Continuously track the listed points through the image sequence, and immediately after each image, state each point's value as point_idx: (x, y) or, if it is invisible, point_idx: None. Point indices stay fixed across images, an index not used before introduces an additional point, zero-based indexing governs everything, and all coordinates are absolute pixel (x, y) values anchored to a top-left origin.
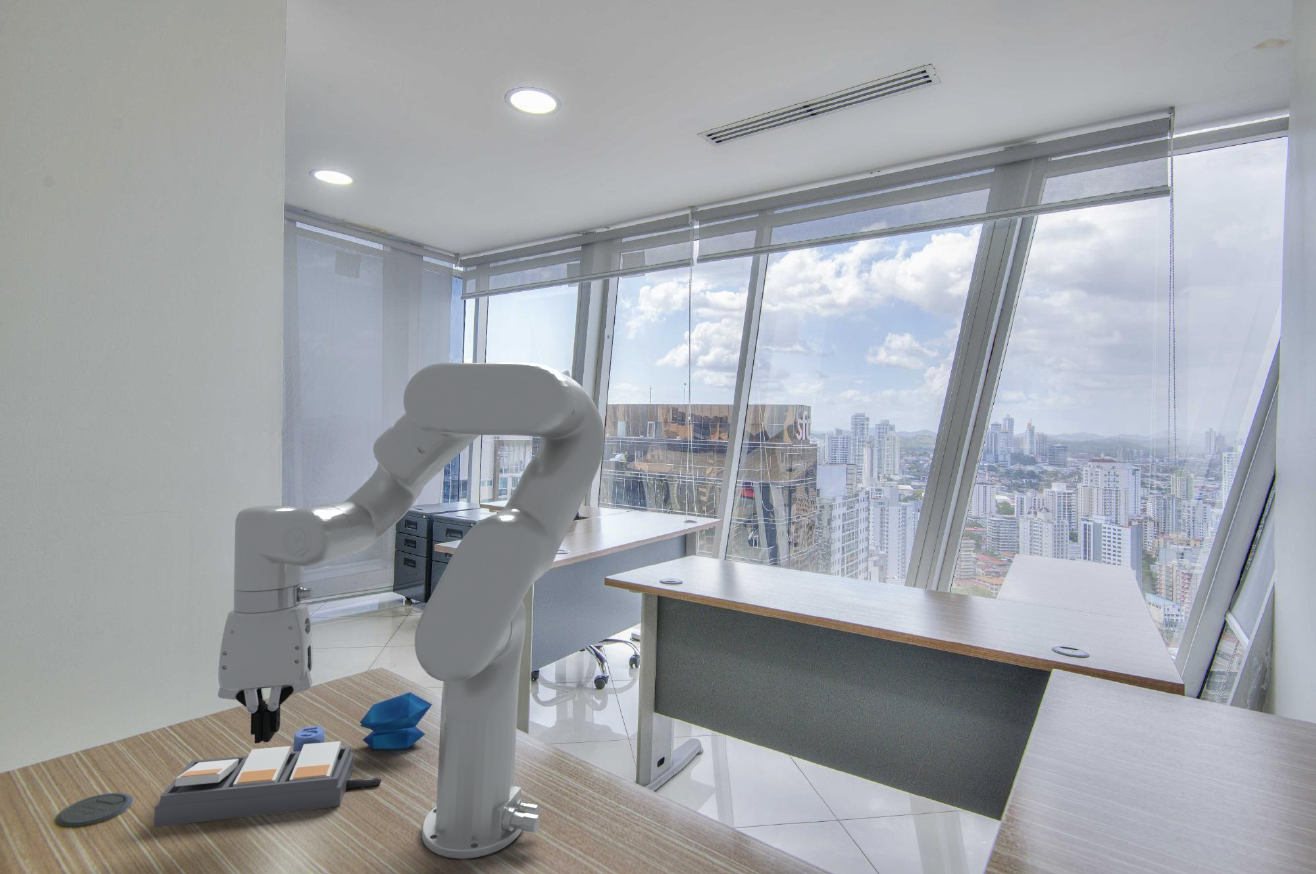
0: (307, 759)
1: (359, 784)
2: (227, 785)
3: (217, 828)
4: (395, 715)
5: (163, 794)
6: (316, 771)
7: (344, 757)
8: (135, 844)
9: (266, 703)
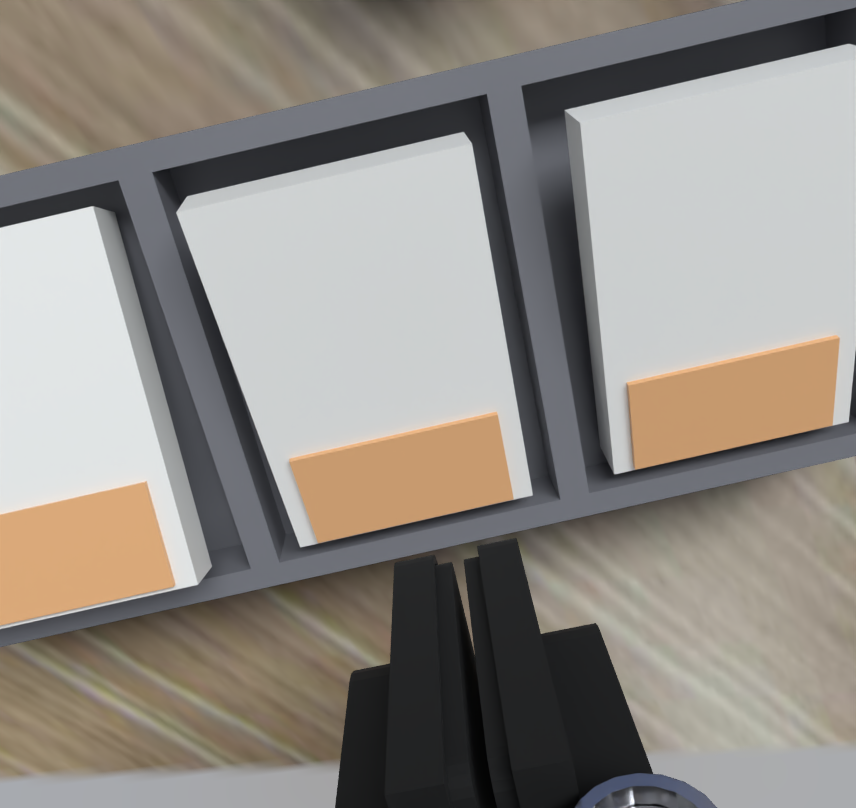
0: (668, 299)
1: None
2: (265, 541)
3: None
4: None
5: None
6: (765, 407)
7: None
8: (46, 677)
9: (427, 781)
